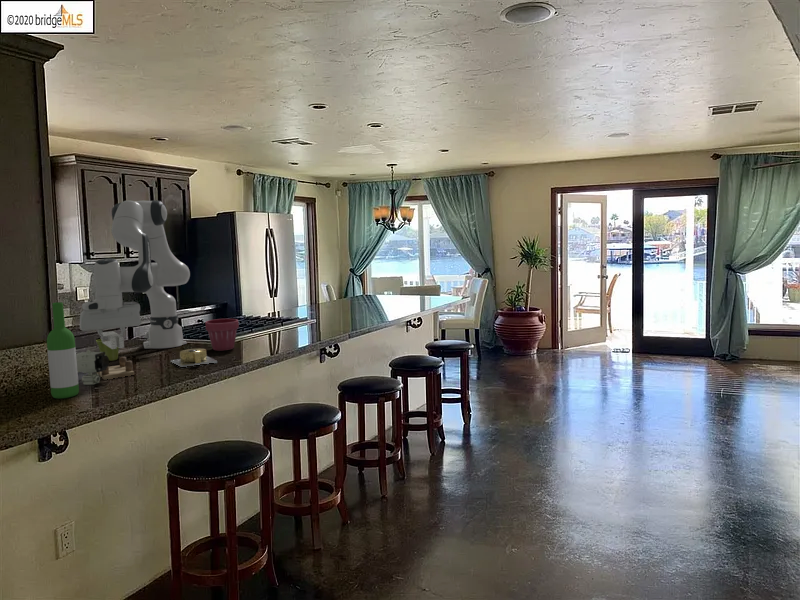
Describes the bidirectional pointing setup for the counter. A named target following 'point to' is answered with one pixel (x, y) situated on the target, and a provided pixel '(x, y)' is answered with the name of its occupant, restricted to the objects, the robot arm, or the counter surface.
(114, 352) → the plant pot
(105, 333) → the white bar
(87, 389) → the counter surface
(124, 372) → the rack
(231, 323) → the plant pot
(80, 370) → the pneumatic valve
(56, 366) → the wine bottle
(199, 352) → the ring nut
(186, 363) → the nut base
